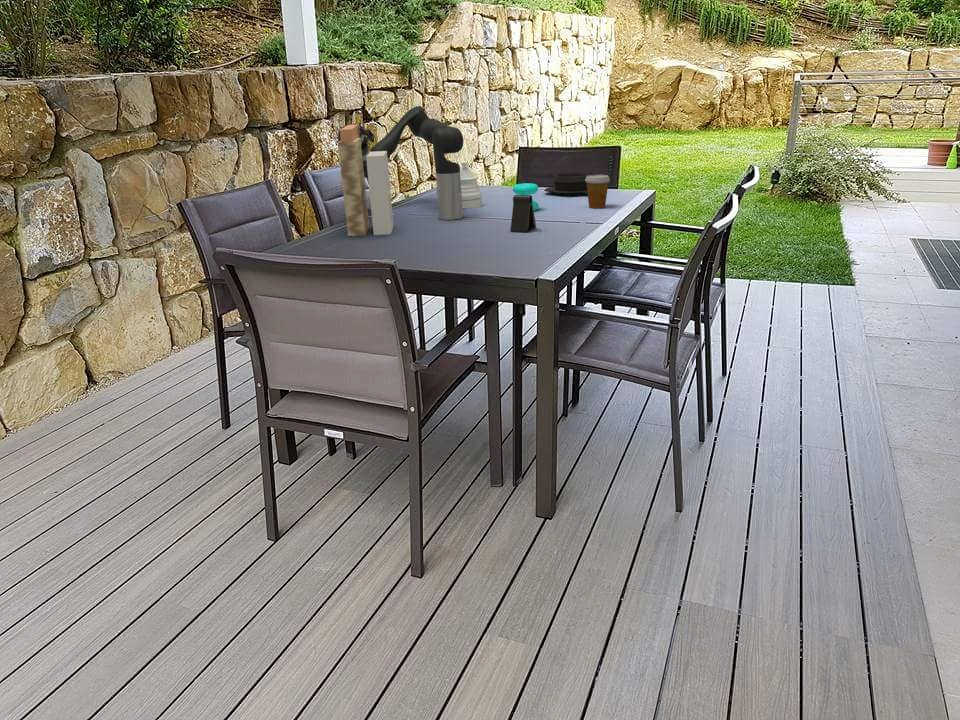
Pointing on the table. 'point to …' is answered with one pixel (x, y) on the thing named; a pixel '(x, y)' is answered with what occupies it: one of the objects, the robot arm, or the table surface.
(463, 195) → the honey pot
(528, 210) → the door stopper
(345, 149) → the oak post
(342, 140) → the terracotta bar
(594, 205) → the disposable coffee cup
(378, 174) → the grey post
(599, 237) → the table surface
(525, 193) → the donuts
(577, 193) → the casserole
